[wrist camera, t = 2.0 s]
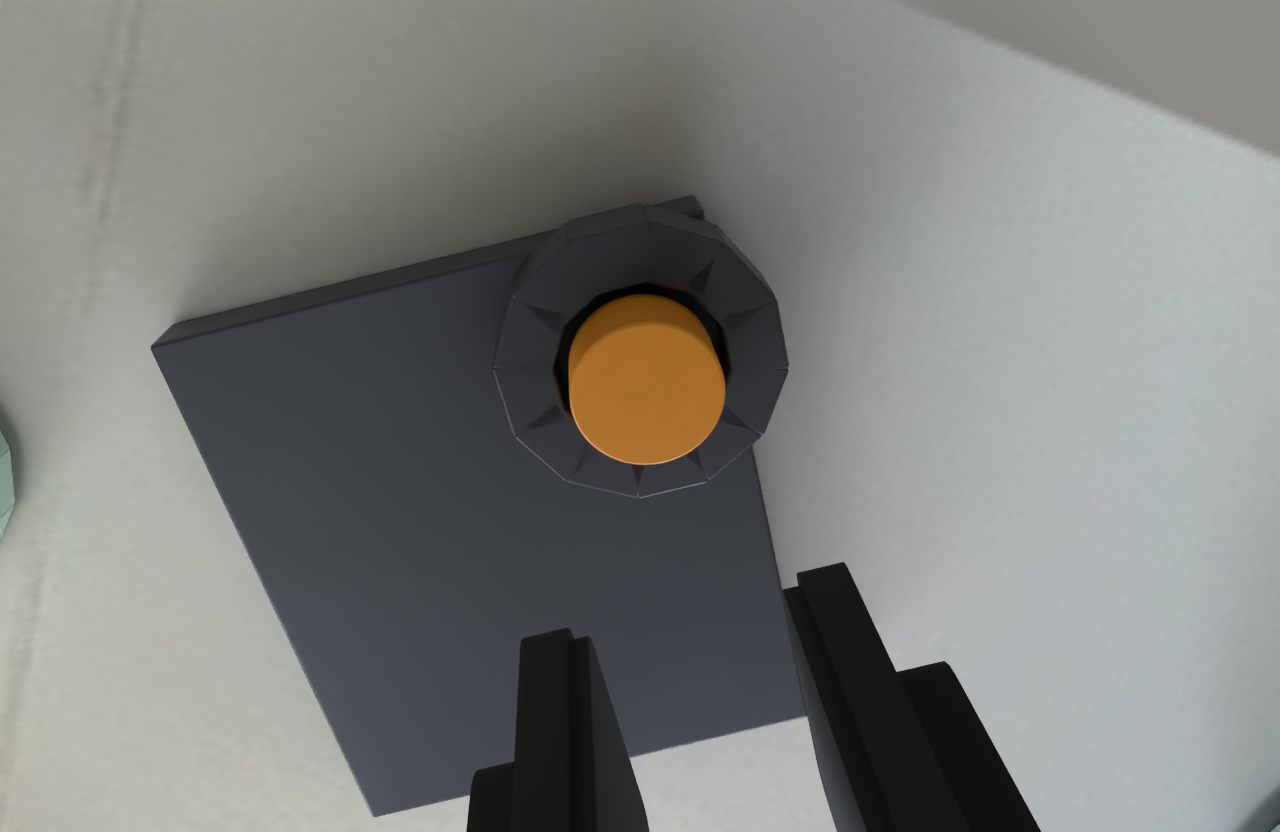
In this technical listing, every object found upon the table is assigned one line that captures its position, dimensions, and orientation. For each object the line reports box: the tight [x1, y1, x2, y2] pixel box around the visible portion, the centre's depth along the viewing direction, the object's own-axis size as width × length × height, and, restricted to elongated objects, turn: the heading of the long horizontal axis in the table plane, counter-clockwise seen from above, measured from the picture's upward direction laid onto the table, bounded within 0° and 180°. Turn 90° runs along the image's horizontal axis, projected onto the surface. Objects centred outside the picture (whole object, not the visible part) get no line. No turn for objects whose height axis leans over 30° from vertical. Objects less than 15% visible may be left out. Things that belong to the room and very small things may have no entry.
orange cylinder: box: [568, 294, 725, 465], centre depth 20 cm, size 3×3×2 cm
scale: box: [151, 196, 807, 817], centre depth 24 cm, size 14×13×3 cm
